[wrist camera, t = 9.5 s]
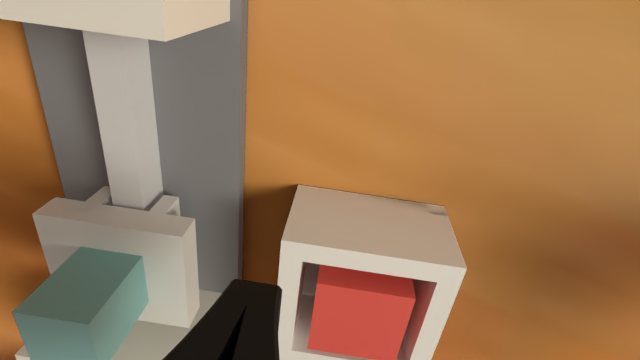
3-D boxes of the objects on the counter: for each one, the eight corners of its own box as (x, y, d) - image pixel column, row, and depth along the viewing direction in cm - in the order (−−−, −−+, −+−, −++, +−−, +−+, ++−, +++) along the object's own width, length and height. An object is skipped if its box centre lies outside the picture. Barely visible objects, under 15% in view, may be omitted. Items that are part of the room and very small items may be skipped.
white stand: (241, 326, 26) (204, 431, 20) (102, 303, 27) (25, 401, 21) (249, -88, 15) (172, -134, 9) (7, -119, 15) (-231, -184, 9)
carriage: (209, 286, 23) (151, 403, 16) (96, 268, 23) (-4, 377, 17) (207, 201, 20) (135, 304, 13) (77, 181, 20) (-53, 274, 14)
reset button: (390, 308, 22) (394, 362, 19) (314, 296, 22) (307, 348, 19) (407, 249, 20) (415, 299, 17) (323, 236, 20) (317, 283, 17)
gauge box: (410, 310, 24) (421, 384, 20) (287, 291, 24) (271, 359, 20) (444, 206, 20) (467, 268, 16) (298, 184, 21) (280, 240, 16)
